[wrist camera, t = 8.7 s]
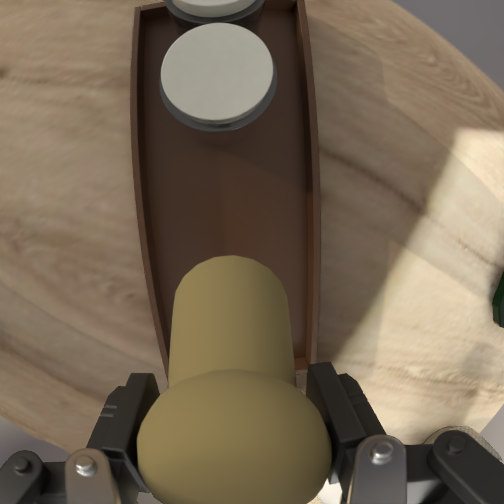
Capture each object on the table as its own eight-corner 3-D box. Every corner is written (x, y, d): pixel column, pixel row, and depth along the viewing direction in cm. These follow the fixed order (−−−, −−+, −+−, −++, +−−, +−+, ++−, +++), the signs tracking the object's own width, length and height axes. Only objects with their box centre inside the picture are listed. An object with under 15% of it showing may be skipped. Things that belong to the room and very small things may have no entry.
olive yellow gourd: (157, 271, 15) (56, 440, 4) (275, 241, 15) (366, 398, 4) (194, 367, 16) (172, 544, 6) (297, 343, 16) (360, 517, 6)
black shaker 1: (184, 78, 21) (154, 19, 11) (184, 20, 20) (161, -54, 9) (257, 73, 22) (276, 10, 11) (254, 15, 20) (268, -61, 10)
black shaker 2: (187, 150, 23) (153, 135, 13) (184, 81, 22) (153, 24, 11) (262, 145, 23) (286, 126, 13) (258, 76, 22) (277, 15, 11)
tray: (171, 367, 29) (167, 382, 26) (141, 18, 20) (134, 7, 17) (310, 358, 30) (315, 372, 27) (297, 8, 20) (303, -4, 18)
